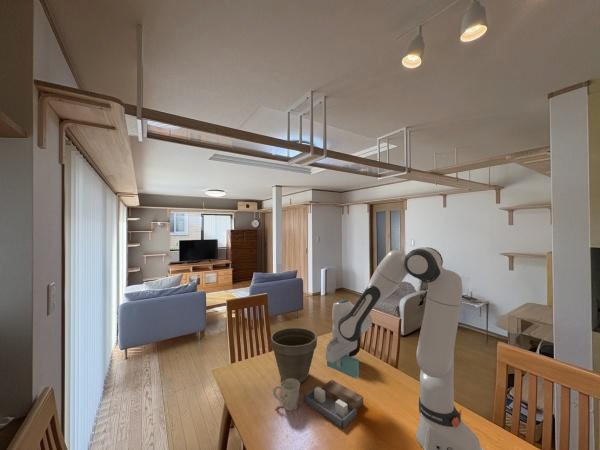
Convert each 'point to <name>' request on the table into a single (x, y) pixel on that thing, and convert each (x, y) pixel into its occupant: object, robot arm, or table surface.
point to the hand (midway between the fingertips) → (342, 364)
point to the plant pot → (294, 352)
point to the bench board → (343, 394)
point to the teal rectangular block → (346, 366)
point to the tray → (329, 410)
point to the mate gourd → (354, 352)
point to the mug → (289, 393)
